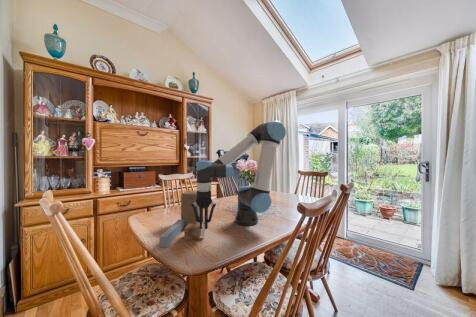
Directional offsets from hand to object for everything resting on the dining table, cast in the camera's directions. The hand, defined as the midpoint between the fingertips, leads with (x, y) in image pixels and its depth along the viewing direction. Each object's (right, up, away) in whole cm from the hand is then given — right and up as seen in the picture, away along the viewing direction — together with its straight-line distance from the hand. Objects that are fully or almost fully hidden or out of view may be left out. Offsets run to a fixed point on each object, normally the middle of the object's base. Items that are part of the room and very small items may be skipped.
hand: (203, 235), depth 105 cm
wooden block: (-11, -1, +20) cm, 23 cm away
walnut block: (-6, -2, 0) cm, 6 cm away
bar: (-16, -1, +1) cm, 16 cm away
